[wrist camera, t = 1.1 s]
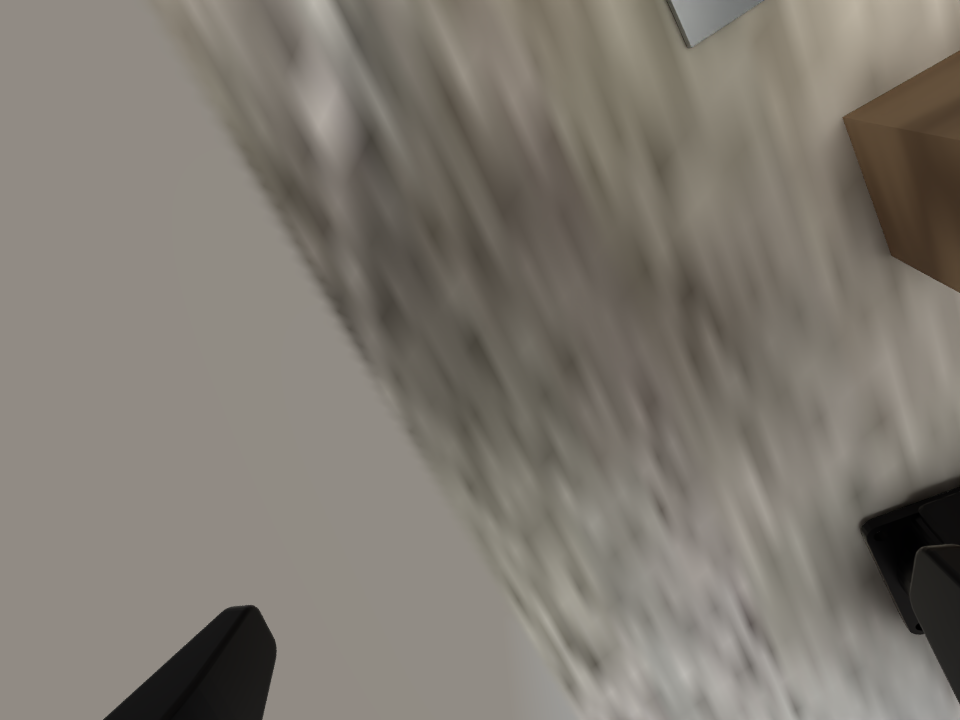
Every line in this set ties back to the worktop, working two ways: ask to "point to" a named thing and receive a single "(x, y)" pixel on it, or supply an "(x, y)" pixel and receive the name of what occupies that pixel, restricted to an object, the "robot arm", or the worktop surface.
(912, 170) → the walnut block
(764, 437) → the worktop surface
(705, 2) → the slate coaster
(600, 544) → the worktop surface
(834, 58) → the worktop surface
